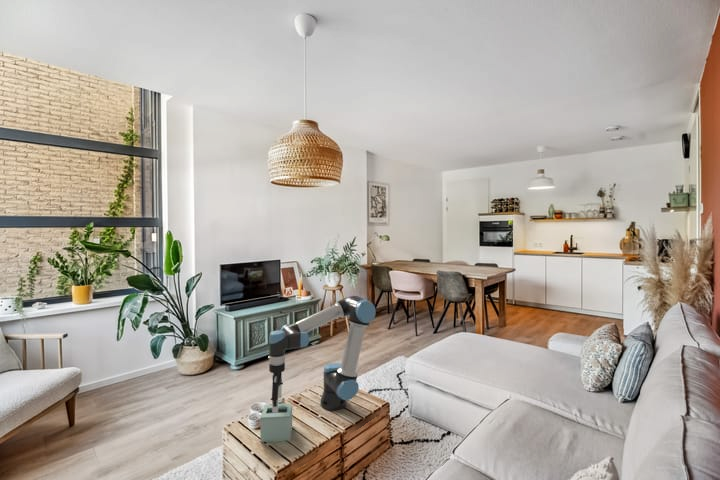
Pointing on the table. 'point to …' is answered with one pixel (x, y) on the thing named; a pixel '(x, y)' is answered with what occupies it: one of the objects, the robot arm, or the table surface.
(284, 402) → the game die
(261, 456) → the table surface
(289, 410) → the box
